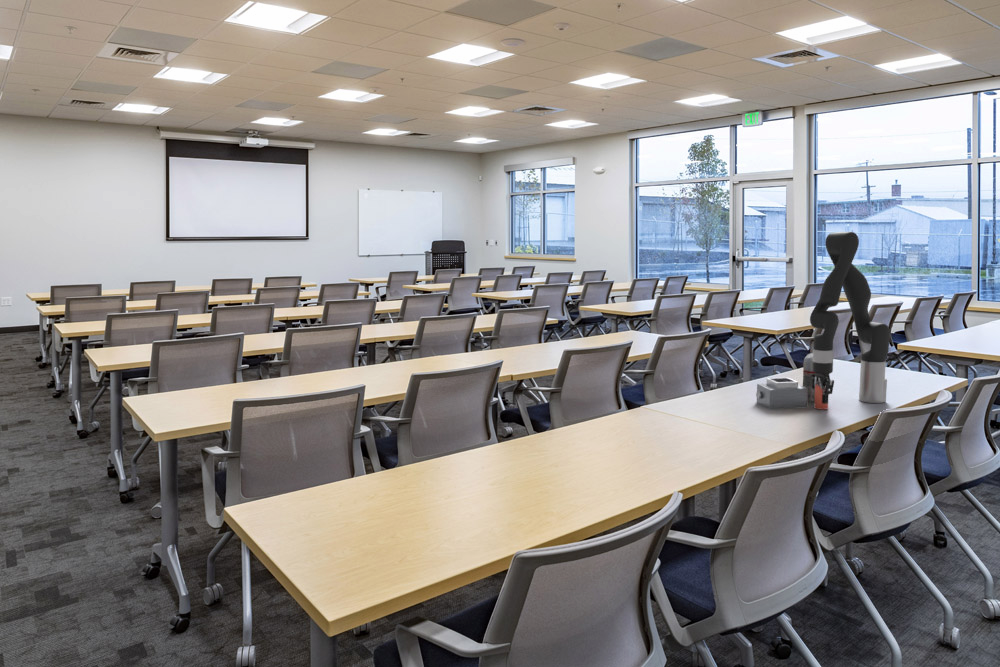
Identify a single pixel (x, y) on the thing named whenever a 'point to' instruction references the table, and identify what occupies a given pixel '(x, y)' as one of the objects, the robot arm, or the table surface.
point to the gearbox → (782, 394)
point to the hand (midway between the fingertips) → (821, 401)
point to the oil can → (819, 397)
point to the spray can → (808, 376)
